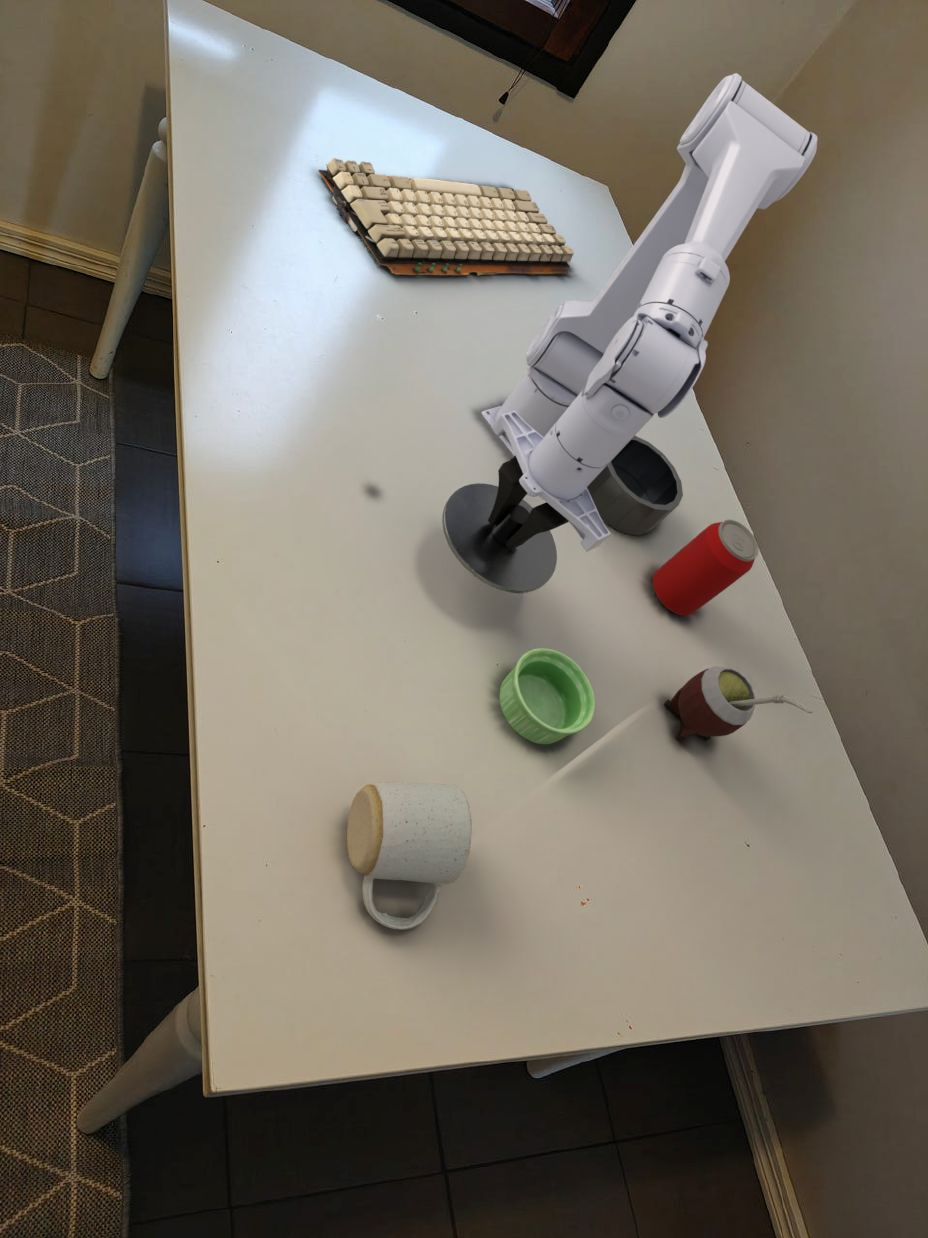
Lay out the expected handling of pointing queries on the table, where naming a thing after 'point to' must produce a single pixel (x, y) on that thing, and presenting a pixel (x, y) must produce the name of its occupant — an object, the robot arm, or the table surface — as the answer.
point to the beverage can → (705, 567)
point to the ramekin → (547, 697)
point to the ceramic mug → (409, 839)
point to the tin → (636, 488)
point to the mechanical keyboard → (445, 224)
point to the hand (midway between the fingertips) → (504, 531)
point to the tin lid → (496, 541)
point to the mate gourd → (717, 703)
